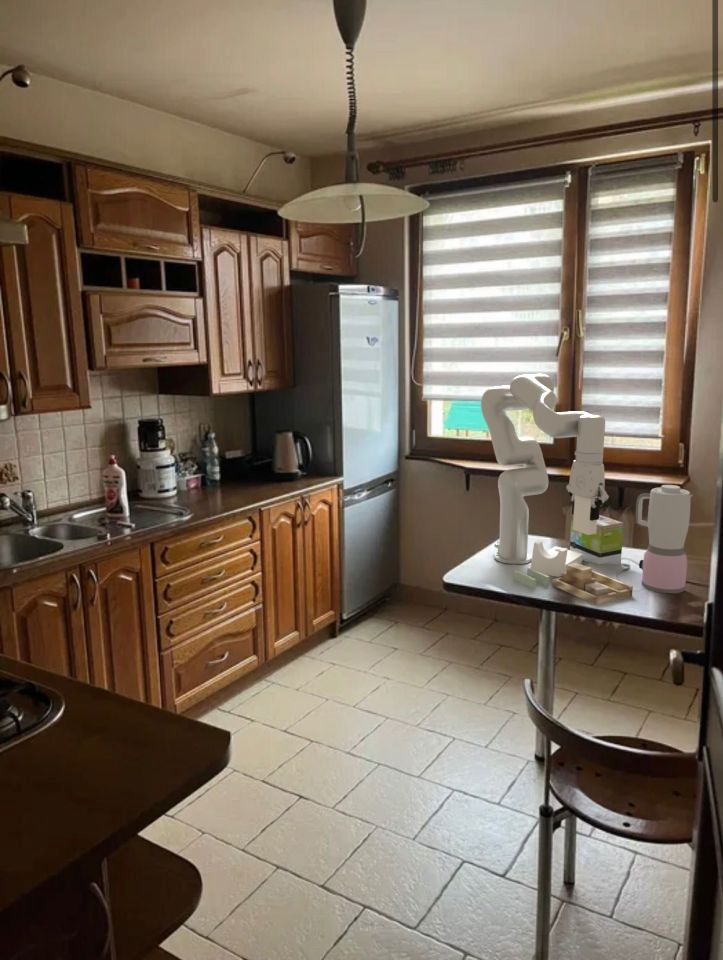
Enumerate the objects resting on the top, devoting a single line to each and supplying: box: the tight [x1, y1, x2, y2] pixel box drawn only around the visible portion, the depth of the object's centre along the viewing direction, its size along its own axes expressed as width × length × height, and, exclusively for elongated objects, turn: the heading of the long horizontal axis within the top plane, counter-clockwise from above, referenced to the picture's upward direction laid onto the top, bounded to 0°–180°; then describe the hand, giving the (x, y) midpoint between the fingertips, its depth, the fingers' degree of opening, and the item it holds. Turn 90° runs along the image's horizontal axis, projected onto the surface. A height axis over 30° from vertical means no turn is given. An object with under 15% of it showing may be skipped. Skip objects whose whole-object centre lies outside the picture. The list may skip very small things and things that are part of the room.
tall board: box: [573, 493, 598, 535], centre depth 210 cm, size 6×3×15 cm, turn 28°
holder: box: [513, 567, 550, 590], centre depth 219 cm, size 10×8×4 cm
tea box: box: [569, 514, 624, 566], centre depth 243 cm, size 15×10×15 cm, turn 25°
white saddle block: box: [530, 540, 583, 578], centre depth 233 cm, size 18×10×10 cm, turn 141°
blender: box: [635, 484, 694, 594], centre depth 213 cm, size 16×12×32 cm
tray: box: [552, 570, 634, 605], centre depth 212 cm, size 18×14×4 cm
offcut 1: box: [566, 563, 593, 580], centre depth 213 cm, size 6×4×3 cm, turn 35°
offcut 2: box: [561, 572, 595, 591], centre depth 213 cm, size 9×4×4 cm, turn 27°
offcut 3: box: [585, 583, 608, 596], centre depth 206 cm, size 5×4×4 cm
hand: (585, 516), depth 211 cm, fingers closed on tall board, 6 cm apart
